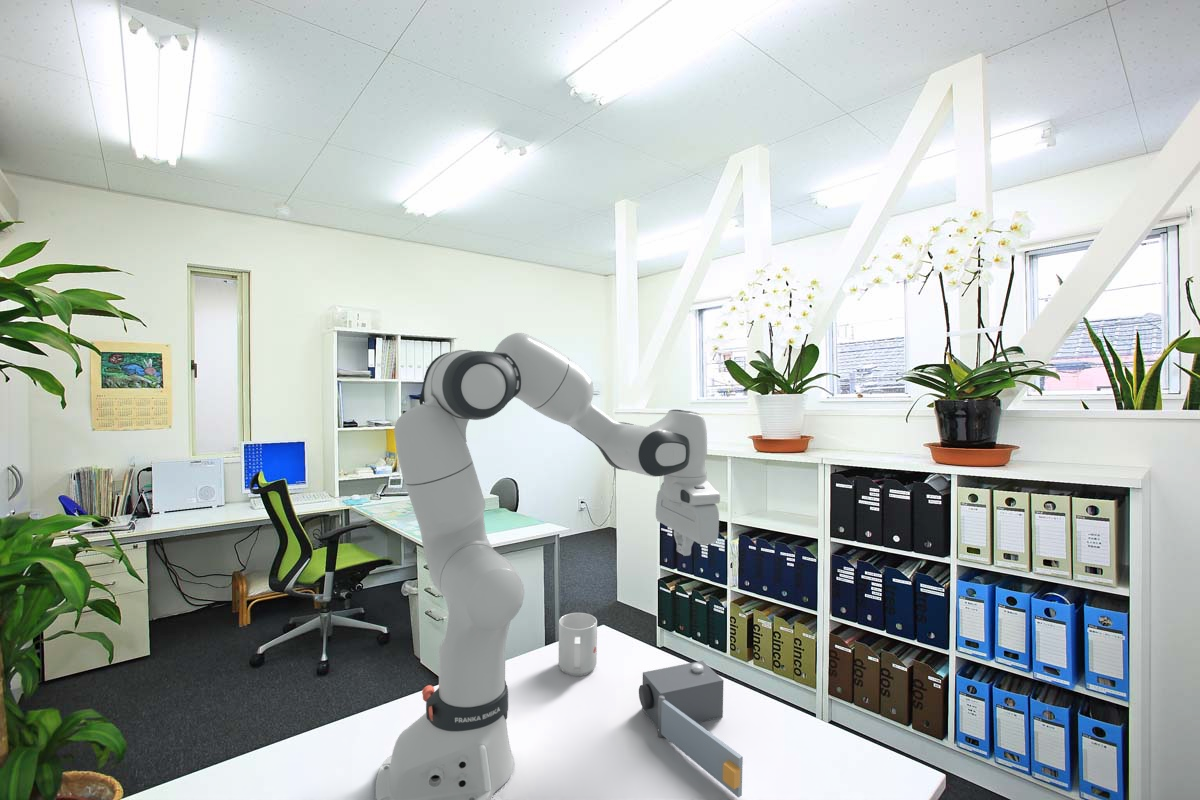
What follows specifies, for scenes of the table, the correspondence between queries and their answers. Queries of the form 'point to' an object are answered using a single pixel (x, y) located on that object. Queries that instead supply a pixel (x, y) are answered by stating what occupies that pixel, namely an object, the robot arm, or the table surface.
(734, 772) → the side door
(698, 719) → the camera case
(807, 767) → the table surface
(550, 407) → the robot arm
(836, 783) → the table surface
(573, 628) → the mug
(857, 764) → the table surface
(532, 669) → the table surface
